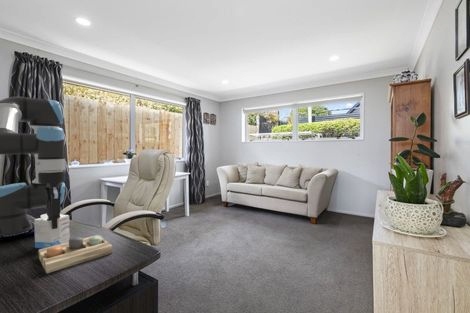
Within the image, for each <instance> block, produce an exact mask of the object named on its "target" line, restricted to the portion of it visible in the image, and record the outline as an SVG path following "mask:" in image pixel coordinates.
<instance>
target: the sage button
mask: <svg viewBox="0 0 470 313" xmlns="http://www.w3.org/2000/svg"><path fill="white" fill-rule="evenodd" d="M92 236H93V237H91V236H90V237H91V238H89V246H90V247H91V246H94V245H98V244H101V243H102V238H103V237H102V235H99V236H95V235H92Z"/></svg>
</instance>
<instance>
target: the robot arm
mask: <svg viewBox="0 0 470 313" xmlns="http://www.w3.org/2000/svg"><path fill="white" fill-rule="evenodd" d="M21 122H22V123H23V122H24V123H29V127H30V128H32V129H33V133H26V132H24V133H21V132H19V123H21ZM62 124H64V116H63V110H62V107H61V104H60V102H59V101H57V100H54V99H48V98H47V99H45V98H36V97H28V96H27V97H25V96H10V97H7V98H3V99H1V100H0V155H34V162H35V164H34V165H35V166H34V167H35V178H34V179H33V180H32V181H31V184H30V185H27V183H26V182H19V183H11V184H10V183H9V184H6V185H2V186H0V238H1V236H3V235H12V234H18V233H22V232H26V231H29V230H30V229H32V228H33V223H32V221H31V220H30V218H29V215H28V210H33V209H40V208H46V214H47V216H48V219H47V221H48V222H49V238H54V237H59V218H60V213H61V204H62V203H63V201H64V198H65V194H66V193H65V192H66V190H65V188H66V184H65V181H66V171H65V169H66V159H65V158H66V157H65V134H64V129H63V128H62V127H61V126H60V125H62Z"/></svg>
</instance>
